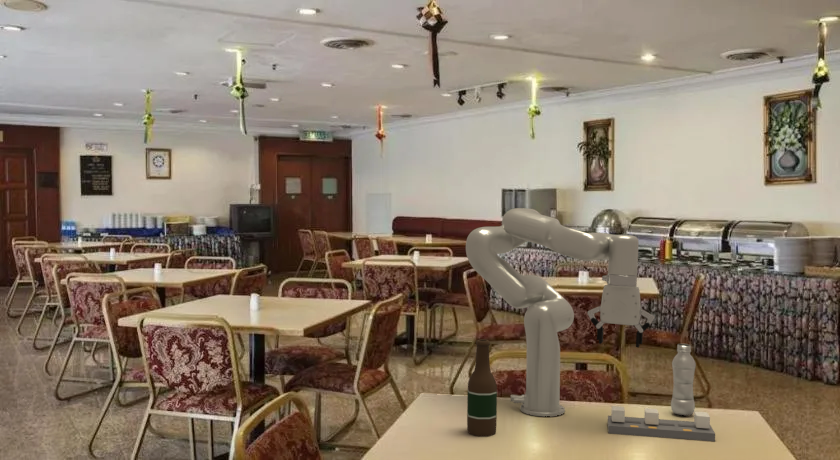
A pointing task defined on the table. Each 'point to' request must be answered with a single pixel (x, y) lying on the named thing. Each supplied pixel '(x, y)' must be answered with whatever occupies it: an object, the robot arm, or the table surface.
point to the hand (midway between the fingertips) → (619, 344)
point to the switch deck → (661, 429)
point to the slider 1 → (618, 414)
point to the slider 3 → (702, 420)
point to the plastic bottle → (683, 381)
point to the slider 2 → (651, 416)
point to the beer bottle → (482, 395)
